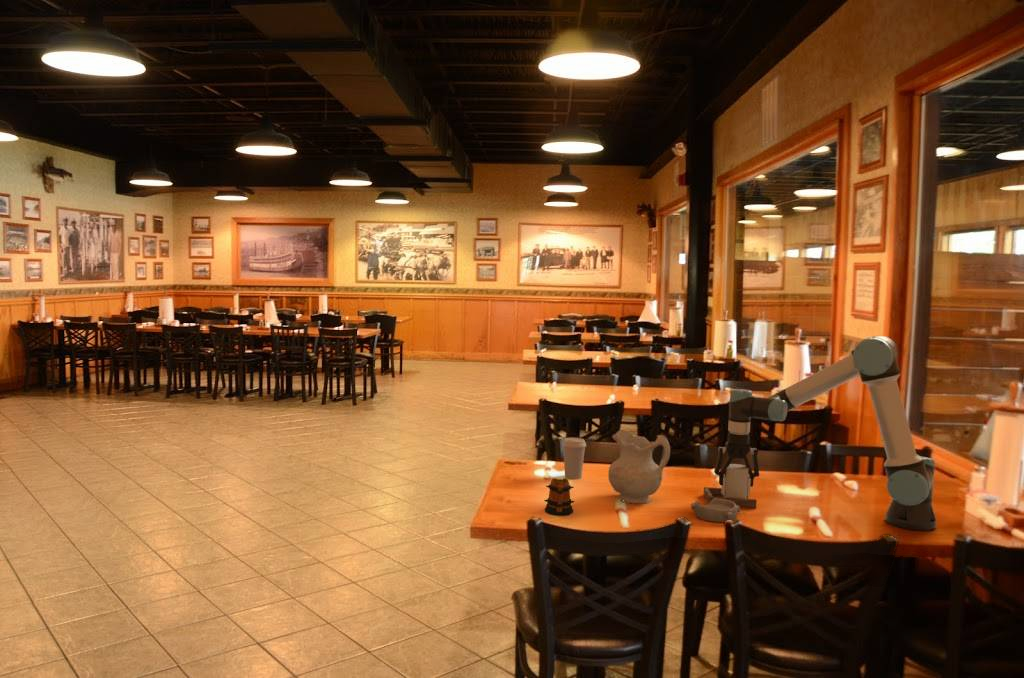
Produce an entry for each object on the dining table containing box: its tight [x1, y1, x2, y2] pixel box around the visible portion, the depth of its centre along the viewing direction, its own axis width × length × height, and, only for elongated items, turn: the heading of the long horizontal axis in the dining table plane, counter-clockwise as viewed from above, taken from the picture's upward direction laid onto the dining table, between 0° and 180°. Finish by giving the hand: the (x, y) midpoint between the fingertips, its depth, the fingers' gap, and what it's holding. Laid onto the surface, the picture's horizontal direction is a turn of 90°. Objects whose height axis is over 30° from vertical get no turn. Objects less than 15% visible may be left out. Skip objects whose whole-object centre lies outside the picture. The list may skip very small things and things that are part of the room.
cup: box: [724, 463, 749, 499], centre depth 280 cm, size 8×8×12 cm
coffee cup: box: [561, 437, 587, 480], centre depth 307 cm, size 10×10×15 cm
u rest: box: [702, 486, 758, 509], centre depth 280 cm, size 13×16×3 cm
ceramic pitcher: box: [608, 429, 671, 505], centre depth 279 cm, size 22×20×25 cm
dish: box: [690, 498, 741, 523], centre depth 262 cm, size 14×14×5 cm
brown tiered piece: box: [544, 477, 575, 517], centre depth 261 cm, size 13×10×12 cm
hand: (735, 494), depth 280 cm, fingers closed on cup, 8 cm apart
